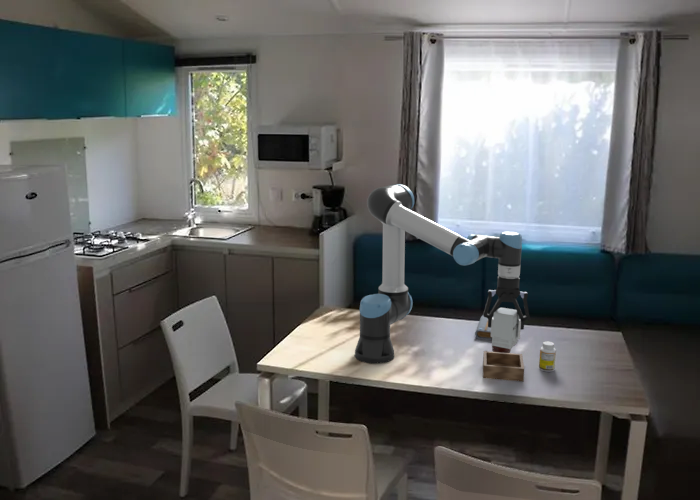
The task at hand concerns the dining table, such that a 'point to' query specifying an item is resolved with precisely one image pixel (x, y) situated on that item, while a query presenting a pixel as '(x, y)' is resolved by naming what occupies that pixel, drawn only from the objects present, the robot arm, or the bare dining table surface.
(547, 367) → the supplement bottle
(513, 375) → the tray
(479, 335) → the book
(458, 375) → the dining table surface
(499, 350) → the mug
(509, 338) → the supplement box
